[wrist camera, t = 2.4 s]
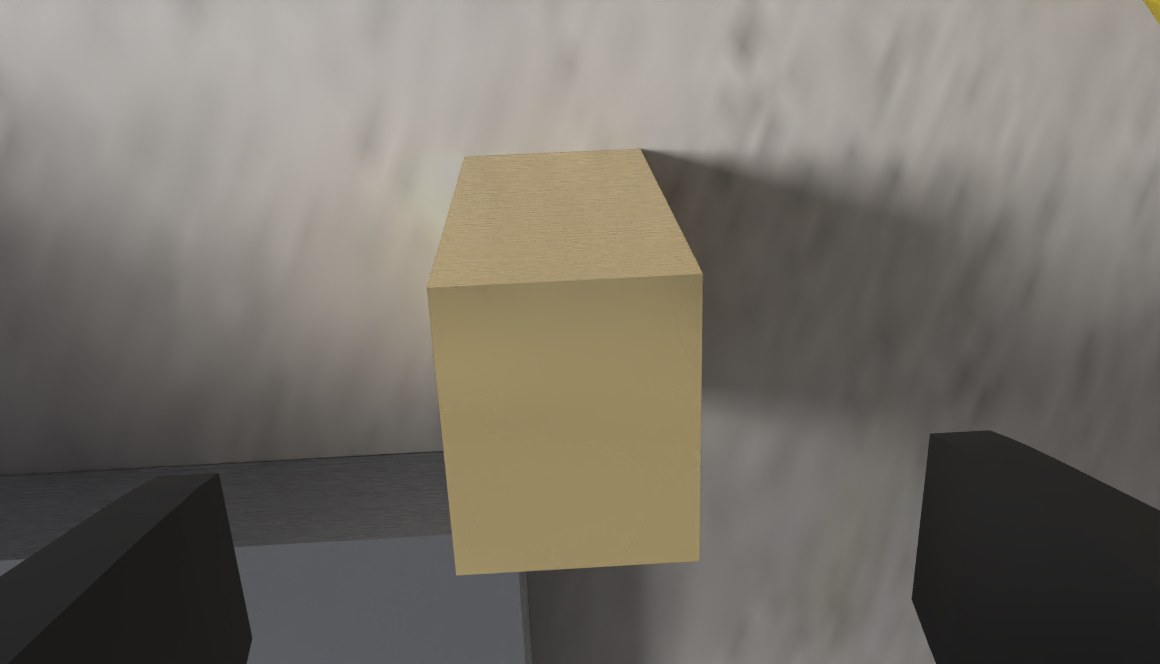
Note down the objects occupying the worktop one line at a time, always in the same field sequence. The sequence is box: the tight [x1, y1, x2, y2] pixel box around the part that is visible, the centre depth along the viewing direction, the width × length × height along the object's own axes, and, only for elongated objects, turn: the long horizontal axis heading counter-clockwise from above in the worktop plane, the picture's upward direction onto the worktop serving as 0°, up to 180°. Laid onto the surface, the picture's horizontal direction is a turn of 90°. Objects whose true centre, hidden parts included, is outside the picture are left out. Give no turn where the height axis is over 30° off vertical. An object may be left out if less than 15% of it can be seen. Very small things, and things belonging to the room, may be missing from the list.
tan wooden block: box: [427, 149, 703, 575], centre depth 15 cm, size 3×4×7 cm
